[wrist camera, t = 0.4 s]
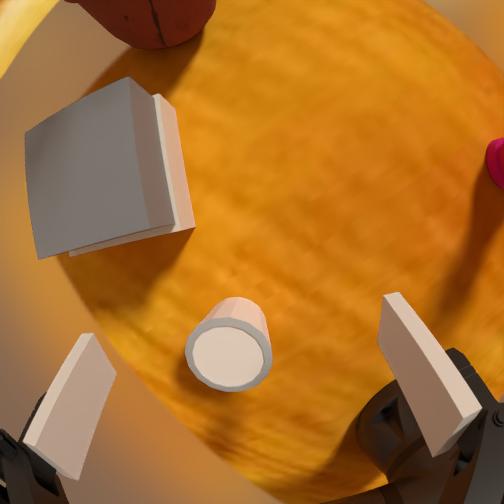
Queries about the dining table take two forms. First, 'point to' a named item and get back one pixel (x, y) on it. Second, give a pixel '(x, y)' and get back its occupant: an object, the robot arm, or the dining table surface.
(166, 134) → the tower base
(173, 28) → the potted plant
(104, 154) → the tower top
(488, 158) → the pepper mill
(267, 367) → the white cup
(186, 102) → the dining table surface
